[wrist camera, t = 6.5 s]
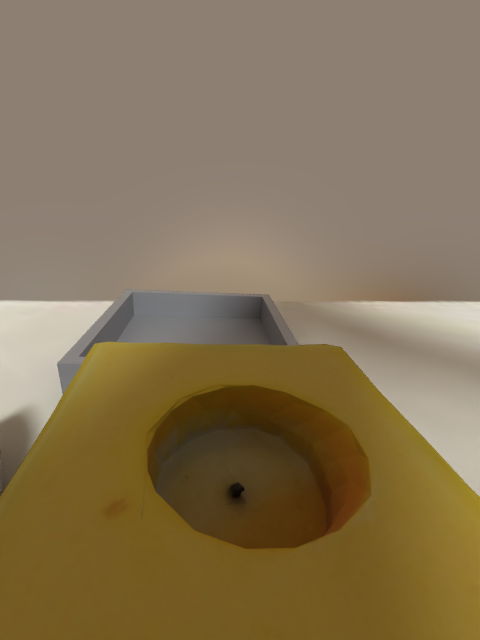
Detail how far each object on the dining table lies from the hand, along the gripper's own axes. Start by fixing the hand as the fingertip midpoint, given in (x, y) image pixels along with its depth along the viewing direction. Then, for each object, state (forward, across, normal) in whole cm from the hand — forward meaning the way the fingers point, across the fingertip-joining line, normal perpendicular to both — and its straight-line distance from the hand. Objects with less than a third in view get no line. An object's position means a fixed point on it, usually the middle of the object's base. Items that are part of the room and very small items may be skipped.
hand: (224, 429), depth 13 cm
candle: (-4, 0, -6) cm, 8 cm away
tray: (+18, -2, -6) cm, 19 cm away
